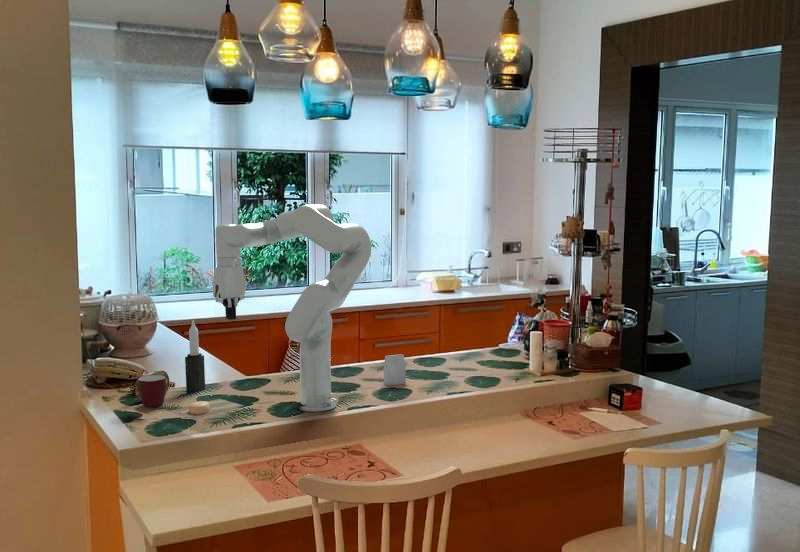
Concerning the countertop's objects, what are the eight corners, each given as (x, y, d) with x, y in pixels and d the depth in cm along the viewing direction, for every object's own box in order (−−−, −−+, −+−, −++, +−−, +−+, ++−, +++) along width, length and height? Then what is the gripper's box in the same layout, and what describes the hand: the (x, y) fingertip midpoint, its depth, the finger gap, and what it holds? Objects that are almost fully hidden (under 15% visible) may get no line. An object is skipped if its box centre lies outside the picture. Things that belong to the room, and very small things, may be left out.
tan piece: (244, 410, 242) (244, 405, 242) (194, 423, 229) (194, 418, 229) (219, 403, 251) (219, 398, 251) (169, 415, 238) (169, 410, 237)
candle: (185, 395, 261) (181, 321, 259) (194, 391, 266) (191, 318, 263) (198, 396, 260) (195, 321, 257) (206, 392, 264) (204, 319, 262)
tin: (141, 404, 251) (140, 378, 250) (133, 403, 252) (132, 377, 251) (170, 392, 265) (169, 368, 264) (163, 391, 266) (161, 367, 265)
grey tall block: (405, 383, 274) (405, 355, 273) (387, 385, 272) (387, 357, 271) (401, 381, 278) (401, 353, 276) (383, 382, 275) (383, 354, 274)
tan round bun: (214, 412, 238) (213, 403, 237) (198, 419, 233) (196, 410, 233) (202, 409, 241) (200, 399, 241) (186, 415, 237) (184, 406, 236)
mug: (138, 405, 249) (136, 375, 248) (164, 403, 252) (163, 372, 251) (141, 414, 239) (139, 382, 238) (168, 411, 242) (167, 379, 241)
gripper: (239, 260, 260) (241, 315, 262) (202, 264, 249) (204, 321, 251) (254, 261, 256) (256, 317, 258) (217, 265, 244) (219, 323, 246)
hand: (231, 318), depth 254 cm, fingers closed
